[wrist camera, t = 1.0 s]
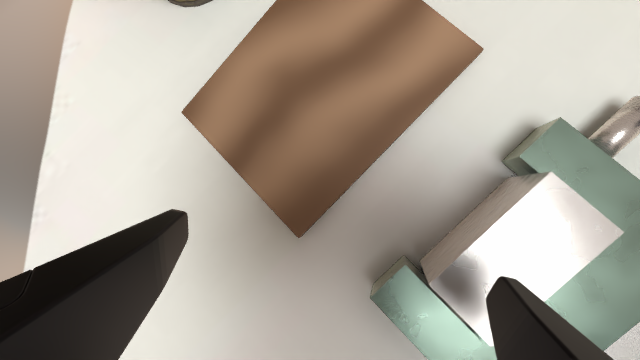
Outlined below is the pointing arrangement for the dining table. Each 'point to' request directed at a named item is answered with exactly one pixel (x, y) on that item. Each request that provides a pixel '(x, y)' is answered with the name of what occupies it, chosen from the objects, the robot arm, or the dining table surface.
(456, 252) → the steel bar
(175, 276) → the dining table surface
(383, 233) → the dining table surface
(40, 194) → the dining table surface
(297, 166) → the walnut mat
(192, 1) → the thermos
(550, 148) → the green base
